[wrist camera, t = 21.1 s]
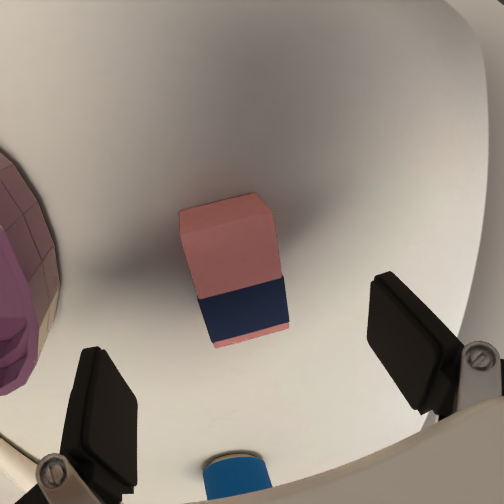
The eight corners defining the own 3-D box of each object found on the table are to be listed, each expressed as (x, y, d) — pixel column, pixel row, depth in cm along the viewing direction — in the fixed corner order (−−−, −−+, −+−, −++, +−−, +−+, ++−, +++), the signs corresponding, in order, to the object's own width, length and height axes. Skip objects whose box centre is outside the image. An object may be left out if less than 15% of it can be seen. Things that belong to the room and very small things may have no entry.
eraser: (177, 210, 16) (178, 235, 13) (256, 191, 16) (274, 211, 14) (207, 313, 19) (214, 349, 16) (273, 295, 19) (290, 328, 17)
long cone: (-10, 377, 19) (93, 491, 27) (-43, 378, 19) (55, 486, 27) (-37, 420, 14) (86, 528, 21) (-68, 414, 14) (46, 520, 21)
